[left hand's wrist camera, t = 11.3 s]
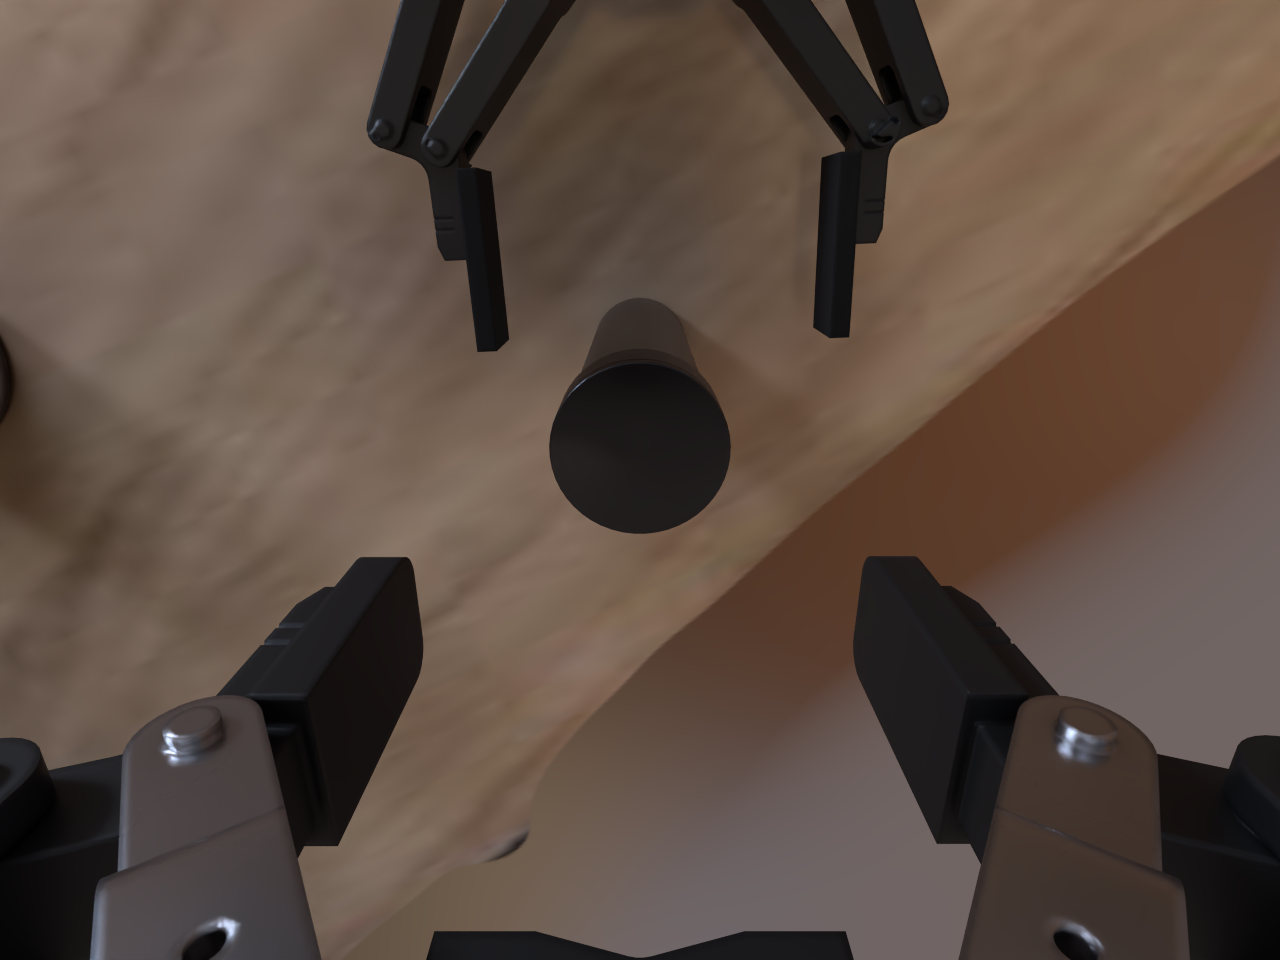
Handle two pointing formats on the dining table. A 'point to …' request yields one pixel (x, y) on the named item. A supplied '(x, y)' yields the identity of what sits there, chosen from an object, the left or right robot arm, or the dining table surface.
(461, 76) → the right robot arm
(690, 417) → the lid
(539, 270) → the dining table surface
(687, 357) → the brown long cylinder
